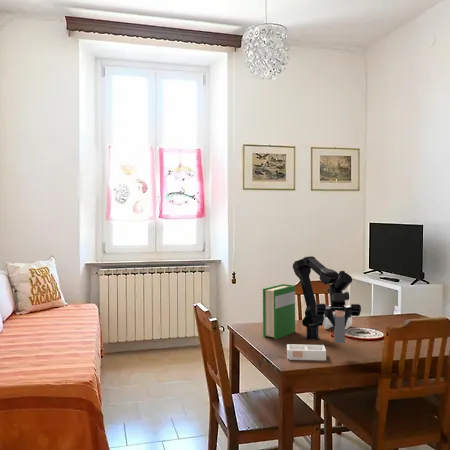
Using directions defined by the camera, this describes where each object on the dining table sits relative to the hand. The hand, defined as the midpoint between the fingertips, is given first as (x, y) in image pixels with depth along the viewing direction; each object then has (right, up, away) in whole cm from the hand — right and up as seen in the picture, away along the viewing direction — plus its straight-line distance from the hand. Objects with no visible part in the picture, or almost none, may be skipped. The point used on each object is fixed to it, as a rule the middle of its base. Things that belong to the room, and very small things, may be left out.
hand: (339, 327), depth 198 cm
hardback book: (-21, -12, +39) cm, 46 cm away
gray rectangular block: (0, -7, +2) cm, 7 cm away
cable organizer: (+11, -12, +50) cm, 53 cm away
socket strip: (-14, -13, +3) cm, 19 cm away
